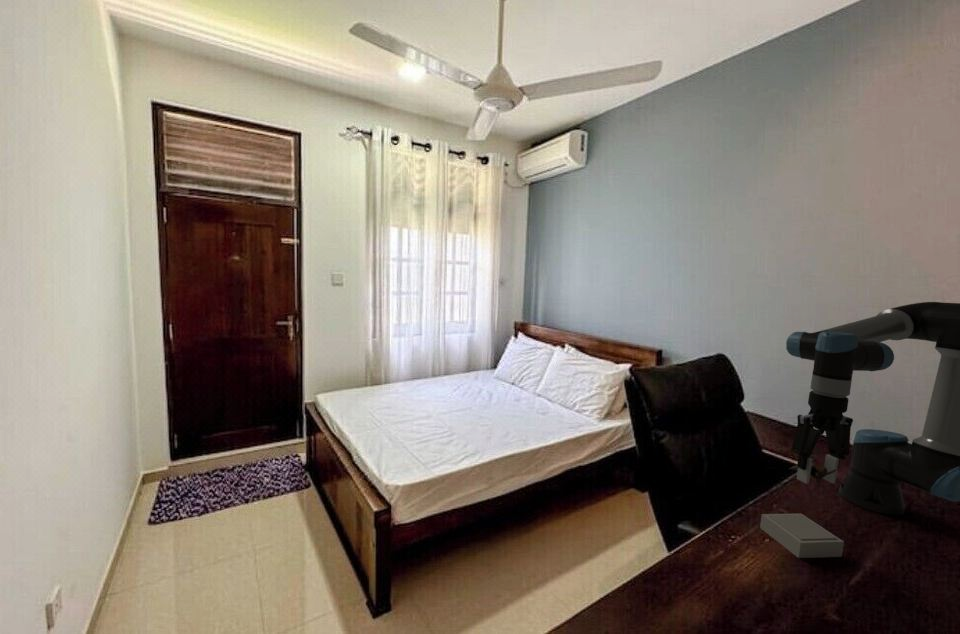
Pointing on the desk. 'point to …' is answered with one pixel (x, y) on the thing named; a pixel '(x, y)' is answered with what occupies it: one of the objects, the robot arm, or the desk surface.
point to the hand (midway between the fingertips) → (815, 480)
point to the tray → (801, 535)
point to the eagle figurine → (815, 471)
